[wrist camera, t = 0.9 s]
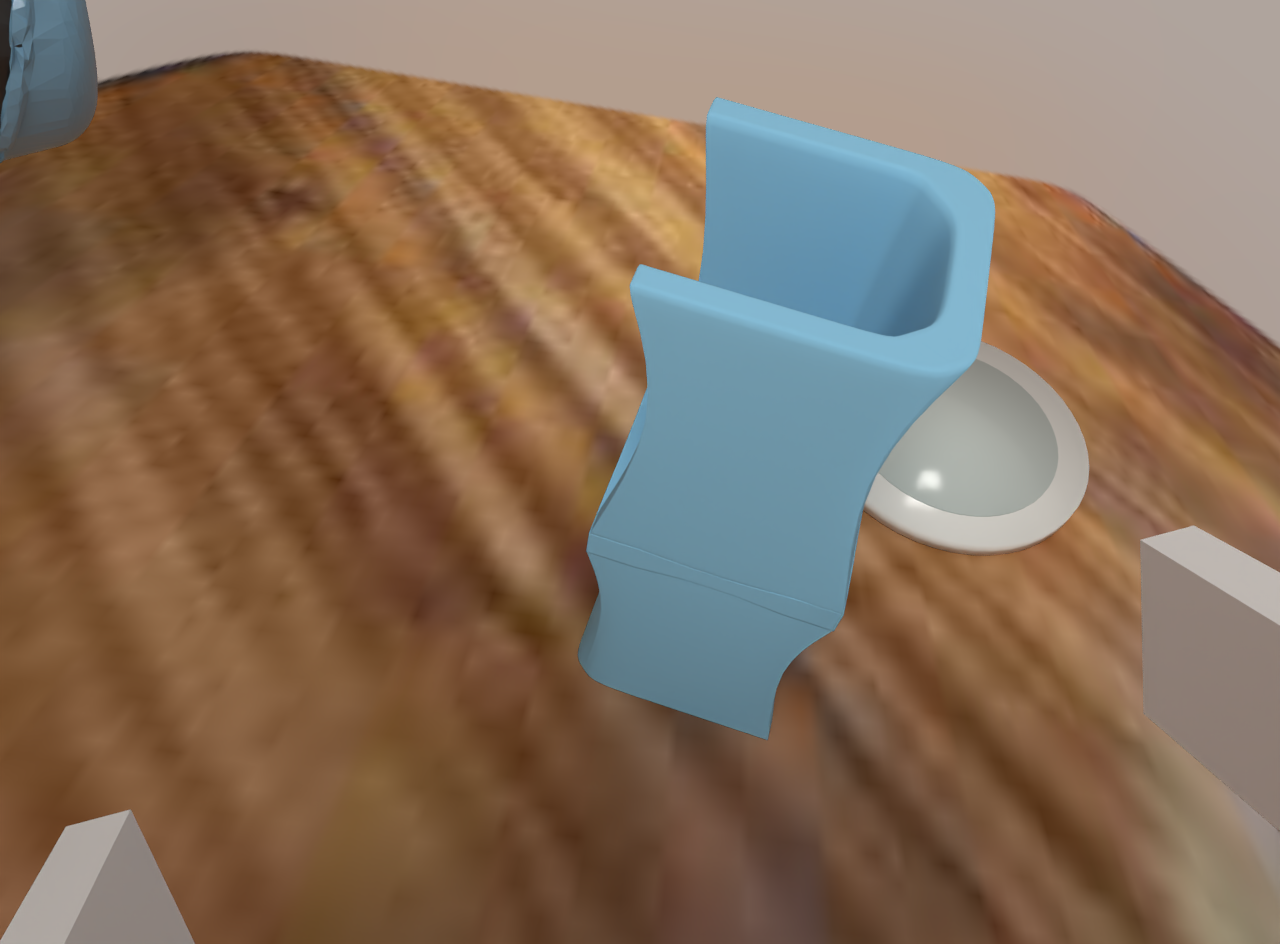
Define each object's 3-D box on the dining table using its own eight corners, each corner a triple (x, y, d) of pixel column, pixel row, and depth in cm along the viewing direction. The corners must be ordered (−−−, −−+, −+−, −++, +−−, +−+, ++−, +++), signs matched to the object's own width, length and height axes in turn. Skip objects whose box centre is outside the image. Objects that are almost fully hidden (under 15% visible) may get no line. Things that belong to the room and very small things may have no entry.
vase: (628, 513, 42) (712, 93, 26) (806, 569, 42) (1003, 175, 26) (568, 674, 37) (625, 283, 21) (767, 740, 37) (980, 389, 21)
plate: (759, 383, 47) (764, 371, 47) (960, 311, 52) (967, 299, 52) (927, 599, 41) (935, 588, 41) (1137, 494, 46) (1147, 483, 45)
